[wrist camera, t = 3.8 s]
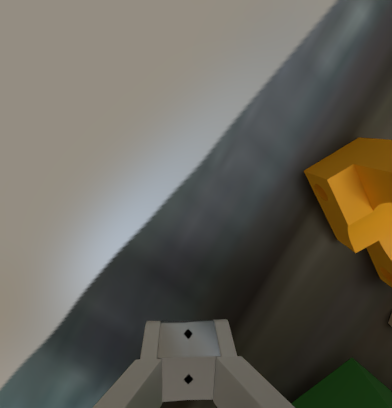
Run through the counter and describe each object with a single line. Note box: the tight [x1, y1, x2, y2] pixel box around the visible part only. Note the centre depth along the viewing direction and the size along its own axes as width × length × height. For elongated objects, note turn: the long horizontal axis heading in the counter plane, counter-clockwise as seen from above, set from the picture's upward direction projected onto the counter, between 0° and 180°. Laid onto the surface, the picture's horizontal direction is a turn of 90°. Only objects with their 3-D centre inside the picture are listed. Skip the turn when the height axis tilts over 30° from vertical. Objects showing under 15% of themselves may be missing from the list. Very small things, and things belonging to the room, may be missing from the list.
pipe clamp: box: [304, 138, 392, 287], centre depth 17 cm, size 12×4×6 cm, turn 32°
